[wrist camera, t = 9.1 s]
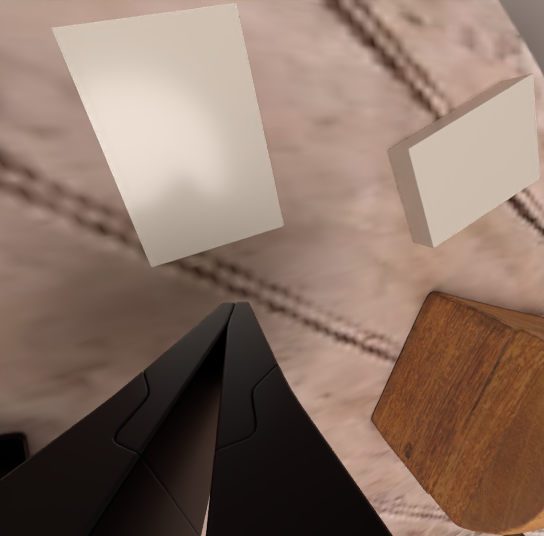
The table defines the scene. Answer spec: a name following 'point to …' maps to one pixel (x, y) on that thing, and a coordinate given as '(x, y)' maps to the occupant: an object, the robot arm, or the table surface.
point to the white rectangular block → (468, 161)
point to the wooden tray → (516, 534)
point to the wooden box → (471, 413)
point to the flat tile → (177, 126)
